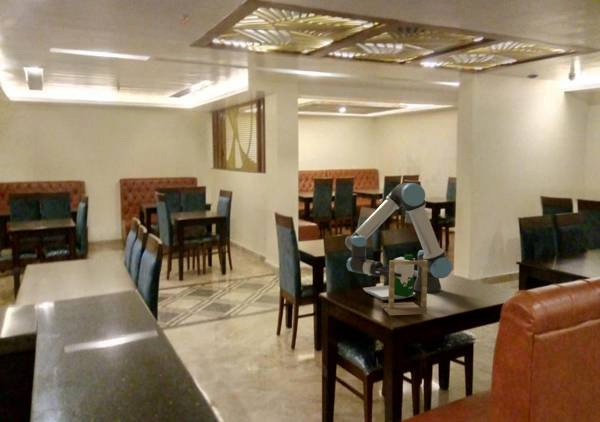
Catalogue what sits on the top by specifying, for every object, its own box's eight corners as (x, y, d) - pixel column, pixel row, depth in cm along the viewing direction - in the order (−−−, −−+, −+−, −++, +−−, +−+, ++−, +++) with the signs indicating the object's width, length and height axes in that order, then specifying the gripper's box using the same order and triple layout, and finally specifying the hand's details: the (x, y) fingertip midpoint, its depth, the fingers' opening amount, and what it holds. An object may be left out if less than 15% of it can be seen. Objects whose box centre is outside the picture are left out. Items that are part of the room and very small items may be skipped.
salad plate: (362, 293, 268) (362, 287, 267) (394, 290, 275) (395, 284, 275) (381, 303, 248) (381, 296, 248) (416, 299, 256) (416, 293, 255)
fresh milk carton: (408, 298, 230) (409, 256, 228) (391, 294, 235) (392, 254, 234) (415, 294, 237) (416, 254, 235) (398, 291, 242) (399, 252, 241)
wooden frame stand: (379, 304, 244) (380, 254, 241) (413, 303, 246) (414, 254, 244) (389, 315, 226) (391, 261, 224) (426, 314, 228) (428, 260, 226)
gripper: (384, 272, 256) (423, 279, 240) (361, 278, 240) (400, 286, 225) (385, 258, 255) (423, 264, 239) (361, 263, 240) (401, 270, 224)
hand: (412, 275), depth 232 cm, fingers closed on fresh milk carton, 8 cm apart
